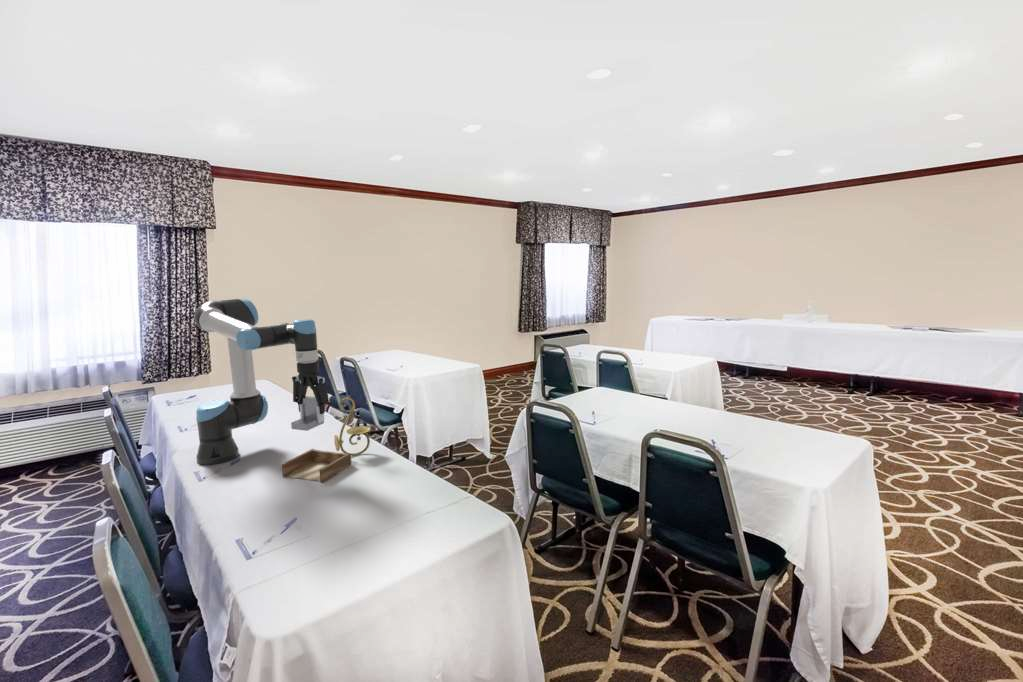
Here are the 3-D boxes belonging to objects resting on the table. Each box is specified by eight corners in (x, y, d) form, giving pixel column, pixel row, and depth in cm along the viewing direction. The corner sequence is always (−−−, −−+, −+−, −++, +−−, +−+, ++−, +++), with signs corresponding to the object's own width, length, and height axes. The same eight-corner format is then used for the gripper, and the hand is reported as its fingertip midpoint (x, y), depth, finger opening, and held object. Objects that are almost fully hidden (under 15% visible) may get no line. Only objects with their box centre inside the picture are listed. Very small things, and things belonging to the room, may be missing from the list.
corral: (282, 477, 187) (281, 464, 186) (313, 460, 202) (312, 448, 201) (323, 483, 181) (322, 470, 180) (351, 465, 196) (350, 453, 195)
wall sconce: (340, 463, 199) (335, 402, 195) (335, 455, 207) (330, 397, 203) (374, 455, 206) (370, 396, 202) (368, 448, 214) (364, 392, 210)
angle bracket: (309, 421, 191) (306, 396, 189) (324, 423, 189) (321, 397, 187) (291, 429, 183) (289, 402, 181) (307, 430, 180) (304, 403, 179)
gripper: (278, 362, 184) (284, 422, 188) (322, 364, 178) (327, 426, 181) (293, 358, 191) (298, 416, 195) (336, 360, 185) (341, 420, 188)
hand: (312, 421), depth 188 cm, fingers closed on angle bracket, 7 cm apart
